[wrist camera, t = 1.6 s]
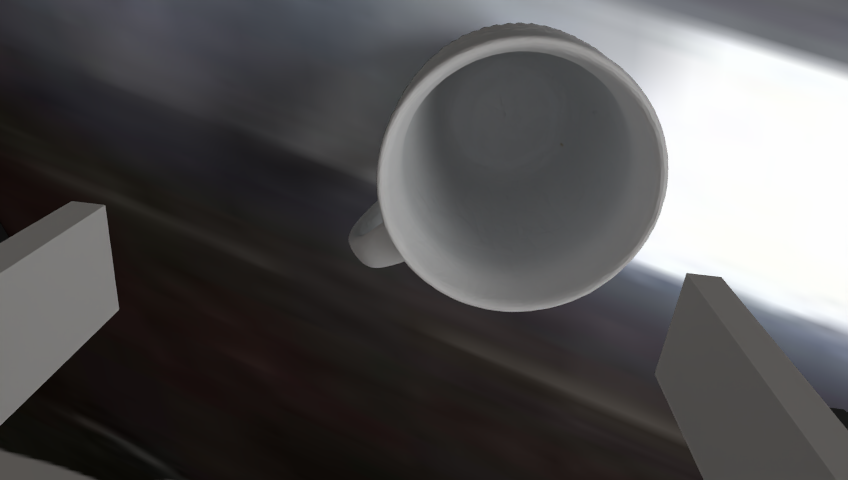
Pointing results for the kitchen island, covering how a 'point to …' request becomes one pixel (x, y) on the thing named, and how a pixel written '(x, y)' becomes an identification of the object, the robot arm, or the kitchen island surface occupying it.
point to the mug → (516, 171)
